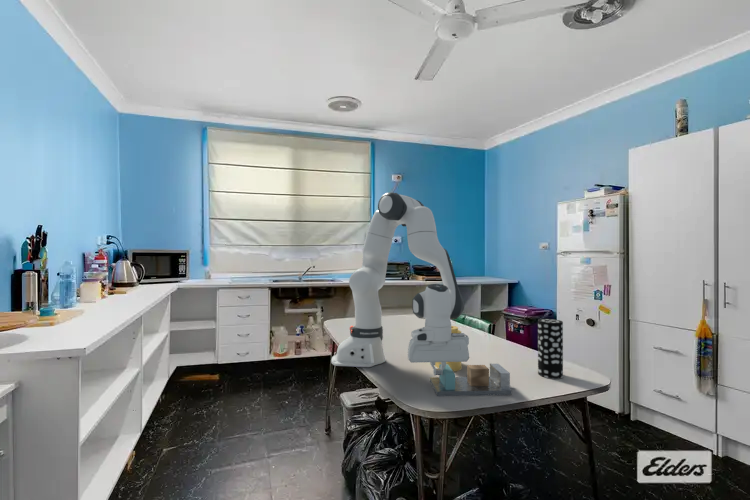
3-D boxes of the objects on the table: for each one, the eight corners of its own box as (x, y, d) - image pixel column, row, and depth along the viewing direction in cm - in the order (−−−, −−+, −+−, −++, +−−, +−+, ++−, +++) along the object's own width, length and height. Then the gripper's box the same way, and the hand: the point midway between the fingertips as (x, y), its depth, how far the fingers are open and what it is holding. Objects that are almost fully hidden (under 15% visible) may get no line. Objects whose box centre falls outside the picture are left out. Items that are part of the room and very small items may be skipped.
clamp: (465, 370, 143) (465, 329, 143) (444, 372, 140) (443, 330, 140) (442, 356, 162) (442, 319, 162) (423, 357, 160) (423, 320, 160)
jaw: (445, 389, 119) (445, 374, 119) (439, 378, 129) (439, 364, 129) (455, 389, 119) (455, 374, 119) (447, 378, 129) (447, 364, 129)
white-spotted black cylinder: (543, 369, 143) (543, 318, 143) (566, 374, 137) (566, 320, 137) (534, 374, 137) (534, 321, 137) (558, 380, 132) (557, 324, 132)
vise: (437, 396, 118) (437, 375, 118) (429, 381, 131) (429, 363, 131) (511, 394, 119) (511, 374, 119) (496, 380, 132) (496, 362, 132)
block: (471, 385, 122) (471, 369, 122) (467, 381, 127) (467, 365, 127) (489, 385, 123) (489, 369, 123) (484, 380, 127) (484, 364, 127)
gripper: (466, 330, 128) (466, 371, 128) (406, 331, 127) (407, 372, 127) (471, 335, 121) (471, 377, 121) (409, 336, 121) (409, 378, 121)
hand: (438, 374), depth 124 cm, fingers closed
